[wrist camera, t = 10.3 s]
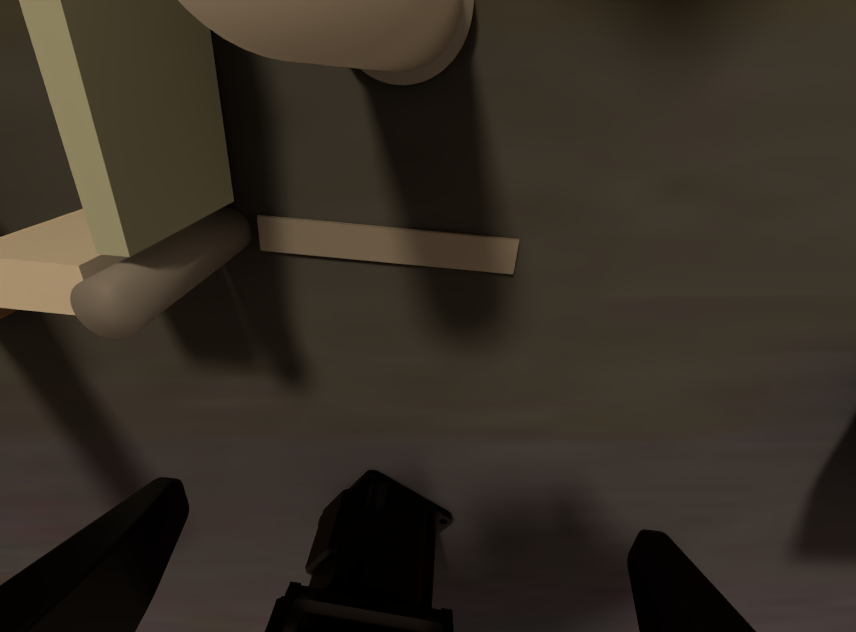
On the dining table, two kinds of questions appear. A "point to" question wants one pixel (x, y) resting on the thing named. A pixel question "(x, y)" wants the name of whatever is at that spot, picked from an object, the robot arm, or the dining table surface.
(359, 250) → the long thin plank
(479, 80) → the dining table surface
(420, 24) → the beige dome-topped cylinder
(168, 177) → the beige flat block
